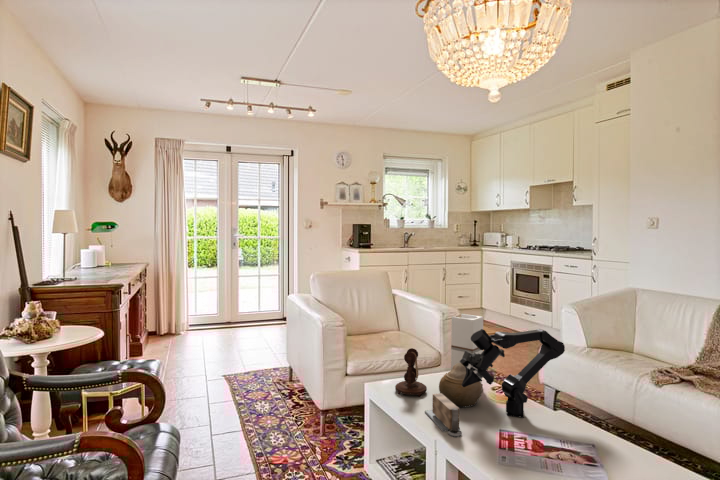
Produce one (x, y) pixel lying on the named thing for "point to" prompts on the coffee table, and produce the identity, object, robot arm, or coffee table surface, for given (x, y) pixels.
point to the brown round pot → (459, 387)
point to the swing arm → (446, 411)
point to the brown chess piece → (411, 376)
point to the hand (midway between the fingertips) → (462, 386)
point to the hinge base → (454, 433)
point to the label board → (437, 420)
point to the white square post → (464, 336)
